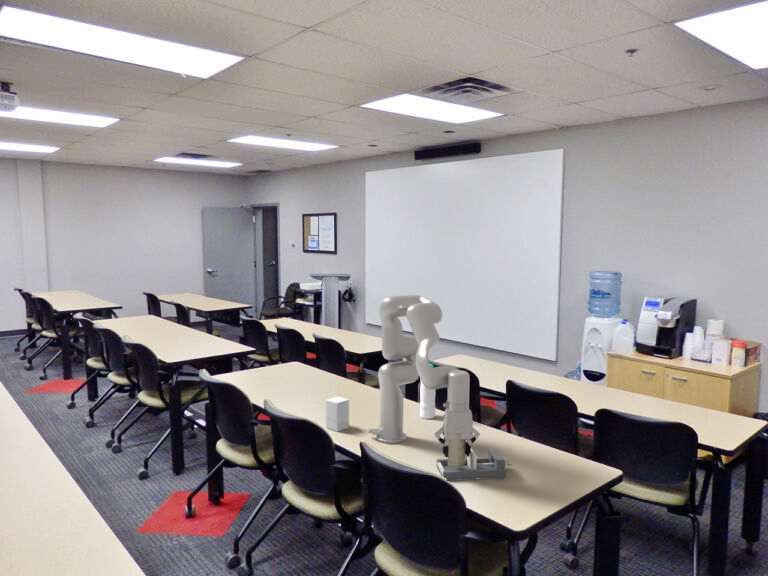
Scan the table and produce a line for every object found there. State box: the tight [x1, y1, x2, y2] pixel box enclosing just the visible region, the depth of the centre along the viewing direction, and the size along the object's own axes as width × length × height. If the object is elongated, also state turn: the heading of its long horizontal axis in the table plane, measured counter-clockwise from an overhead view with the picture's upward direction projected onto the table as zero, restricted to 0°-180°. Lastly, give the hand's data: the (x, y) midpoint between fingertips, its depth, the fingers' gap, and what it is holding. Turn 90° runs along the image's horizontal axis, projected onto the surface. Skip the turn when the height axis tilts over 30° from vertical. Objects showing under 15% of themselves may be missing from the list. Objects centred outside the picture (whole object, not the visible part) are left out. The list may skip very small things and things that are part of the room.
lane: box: [436, 449, 507, 481], centre depth 182 cm, size 22×11×6 cm, turn 96°
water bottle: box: [419, 363, 436, 420], centre depth 239 cm, size 7×7×25 cm
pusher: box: [466, 448, 513, 470], centre depth 182 cm, size 15×8×6 cm, turn 96°
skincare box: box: [447, 434, 467, 468], centre depth 181 cm, size 6×4×12 cm
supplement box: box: [325, 396, 350, 432], centre depth 224 cm, size 7×7×13 cm
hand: (456, 455), depth 181 cm, fingers closed on skincare box, 7 cm apart
